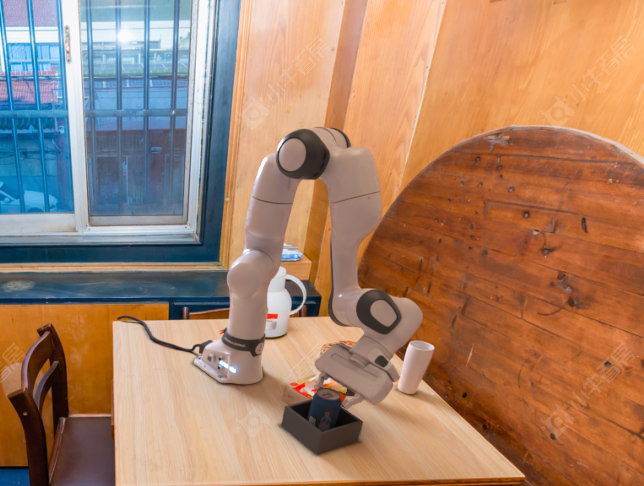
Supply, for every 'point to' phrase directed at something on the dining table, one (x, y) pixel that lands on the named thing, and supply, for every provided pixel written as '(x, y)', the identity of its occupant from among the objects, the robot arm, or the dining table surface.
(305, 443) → the tub
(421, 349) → the white tall cylinder
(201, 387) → the dining table surface
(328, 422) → the soda can
